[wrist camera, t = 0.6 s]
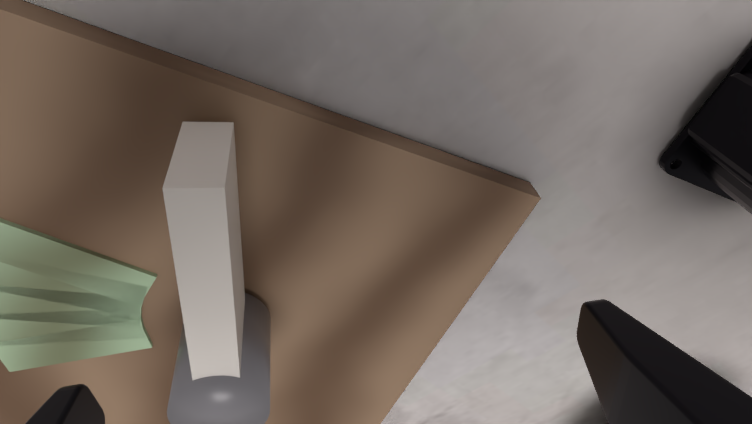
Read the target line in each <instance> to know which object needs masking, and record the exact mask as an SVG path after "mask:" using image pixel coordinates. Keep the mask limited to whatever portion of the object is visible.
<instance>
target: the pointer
mask: <svg viewBox="0 0 752 424" xmlns="http://www.w3.org/2000/svg"><path fill="white" fill-rule="evenodd" d="M162 189H163V195H164V202H165V208H166V215H167V221H168V227H169V234H170V240H171V246H172V253H173V259H174V266H175V272H176V278H177V285H178V291H179V297H180V304H181V310H182V317H183V325H182V331H181V336H180V342H179V347H178V353H177V358H176V364H175V369H174V375H173V380H172V386H171V391H170V397H169V402H168V407H167V417H168V420H169V422H170V424H265V422H266V421H267V419H268V417H269V414H270V353H271V317H270V313H269V311H268V309H267V307H266V306H265V305H264V304H263V303H262V302H261V301H260V300H259V299H257V298H256V297H254V296H252V295H250V294H247V293H245V290H244V275H243V259H242V244H241V229H240V213H239V198H238V183H237V167H236V152H235V136H234V122H182V125H181V129H180V132H179V135H178V138H177V142H176V145H175V148H174V152H173V155H172V158H171V161H170V165H169V168H168V171H167V175H166V178H165V181H164V184H163V188H162Z"/></svg>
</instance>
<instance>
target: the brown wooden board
mask: <svg viewBox="0 0 752 424" xmlns="http://www.w3.org/2000/svg"><path fill="white" fill-rule="evenodd" d="M182 122H234V136H235V152H236V167H237V183H238V198H239V213H240V229H241V244H242V259H243V275H244V290H245V293H247V294H250V295H252V296H254V297H256V298H257V299H259V300H260V301H261V302H262V303H263V304H264V305H265V306H266V307H267V309H268V311H269V313H270V317H271V353H270V414H269V417H268V419H267V421H266V422H265V424H380V423H381V422H382V421H383V419H384V418H385V416H386V415H387V414H388V412H389V411H390V409H391V408H392V407H393V405H394V404H395V402H396V401H397V400H398V398H399V397H400V395H401V394H402V393H403V391H404V390H405V388H406V387H407V386H408V384H409V383H410V381H411V380H412V379H413V377H414V376H415V374H416V373H417V372H418V370H419V369H420V367H421V366H422V364H423V363H424V362H425V360H426V359H427V357H428V356H429V355H430V353H431V352H432V350H433V349H434V348H435V346H436V345H437V343H438V342H439V341H440V339H441V338H442V336H443V335H444V334H445V332H446V331H447V329H448V328H449V327H450V325H451V324H452V322H453V321H454V320H455V318H456V317H457V315H458V314H459V313H460V311H461V310H462V308H463V307H464V306H465V304H466V303H467V301H468V300H469V298H470V297H471V296H472V294H473V293H474V291H475V290H476V289H477V287H478V286H479V284H480V283H481V282H482V280H483V279H484V277H485V276H486V275H487V273H488V272H489V270H490V269H491V268H492V266H493V265H494V263H495V262H496V261H497V259H498V258H499V256H500V255H501V254H502V252H503V251H504V249H505V248H506V247H507V245H508V244H509V242H510V241H511V240H512V238H513V237H514V235H515V234H516V232H517V231H518V230H519V228H520V227H521V225H522V224H523V223H524V221H525V220H526V218H527V217H528V216H529V214H530V213H531V211H532V210H533V209H534V207H535V206H536V204H537V203H538V202H539V200H540V199H541V198H540V196H539V195H538V193H537V192H536V190H535V189H534V188H533V186H532V185H531V183H530V182H527V181H524V180H521V179H518V178H516V177H513V176H510V175H507V174H505V173H502V172H499V171H496V170H493V169H491V168H488V167H485V166H482V165H479V164H477V163H474V162H471V161H468V160H466V159H463V158H460V157H457V156H454V155H452V154H449V153H446V152H443V151H440V150H438V149H435V148H432V147H429V146H427V145H424V144H421V143H418V142H415V141H413V140H410V139H407V138H404V137H401V136H399V135H396V134H393V133H390V132H388V131H385V130H382V129H379V128H376V127H374V126H371V125H368V124H365V123H362V122H360V121H357V120H354V119H351V118H349V117H346V116H343V115H340V114H337V113H335V112H332V111H329V110H326V109H323V108H321V107H318V106H315V105H312V104H310V103H307V102H304V101H301V100H298V99H296V98H293V97H290V96H287V95H284V94H282V93H279V92H276V91H273V90H270V89H268V88H265V87H262V86H259V85H257V84H254V83H251V82H248V81H245V80H243V79H240V78H237V77H234V76H231V75H229V74H226V73H223V72H220V71H218V70H215V69H212V68H209V67H206V66H204V65H201V64H198V63H195V62H192V61H190V60H187V59H184V58H181V57H179V56H176V55H173V54H170V53H167V52H165V51H162V50H159V49H156V48H153V47H151V46H148V45H145V44H142V43H140V42H137V41H134V40H131V39H128V38H126V37H123V36H120V35H117V34H114V33H112V32H109V31H106V30H103V29H101V28H98V27H95V26H92V25H89V24H87V23H84V22H81V21H78V20H75V19H73V18H70V17H67V16H64V15H62V14H59V13H56V12H53V11H50V10H48V9H45V8H42V7H39V6H36V5H34V4H31V3H28V2H25V1H23V0H0V424H25V423H26V422H27V421H28V420H29V419H30V418H31V417H32V416H33V415H34V414H35V412H36V411H37V410H38V409H39V408H40V407H41V406H42V405H43V404H44V403H45V402H46V401H47V400H48V399H49V398H50V397H51V396H52V394H53V393H54V392H55V391H57V390H58V389H59V388H61V387H64V386H70V385H76V384H84V385H86V386H88V388H89V389H90V390H91V392H92V394H93V395H94V397H95V398H96V400H97V401H98V403H99V404H100V406H101V407H102V409H103V411H104V414H105V424H170V422H169V420H168V417H167V407H168V402H169V397H170V391H171V386H172V380H173V375H174V369H175V364H176V358H177V353H178V347H179V342H180V336H181V331H182V325H183V317H182V310H181V304H180V297H179V291H178V285H177V278H176V272H175V266H174V259H173V253H172V246H171V240H170V234H169V227H168V221H167V215H166V208H165V202H164V195H163V189H162V188H163V184H164V181H165V178H166V175H167V171H168V168H169V165H170V161H171V158H172V155H173V152H174V148H175V145H176V142H177V138H178V135H179V132H180V129H181V125H182Z"/></svg>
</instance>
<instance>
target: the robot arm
mask: <svg viewBox="0 0 752 424" xmlns="http://www.w3.org/2000/svg"><path fill="white" fill-rule="evenodd" d="M674 160H675V162H673V161H674ZM672 162H673V163H672ZM671 163H672V164H671ZM659 165H660V167H661V168H662V169H663V170H664V171H665V172H666V173H668V174H670V175H672V176H675V177H677V178H679V179H682V180H684V181H687V182H689V183H692V184H694V185H696V186H699V187H701V188H704V189H706V190H709V191H711V192H713V193H716V194H718V195H721V196H723V197H726V198H728V199H730V200H733V201H735V202H738V203H739V204H740V205H741V206H742V207H744V208H745V209H746V210H747V211H748V212H750V213H751V214H752V46H751V47H750V48H749V49H748V50H747V52H746V53H745V54H744V55H743V57H742V58H741V59H740V60H739V62H738V63H737V64H736V65H735V67H734V68H733V69H732V70H731V72H730V73H729V74H728V75H727V76H726V78H725V79H724V80H723V81H722V83H721V84H720V85H719V86H718V88H717V89H716V90H715V91H714V93H713V94H712V95H711V96H710V98H709V99H708V100H707V101H706V102H705V104H704V105H703V106H702V107H701V109H700V110H699V111H698V112H697V114H696V115H695V116H694V117H693V119H692V120H691V121H690V122H689V124H688V125H687V126H686V127H685V128H684V130H683V131H682V132H681V133H680V135H679V136H678V137H677V138H676V140H675V141H674V142H673V143H672V145H671V146H670V147H669V148H668V150H667V151H666V152H665V153H664V154H663V156H662V157H661V159H660V162H659ZM577 340H578V344H579V347H580V350H581V352H582V355H583V358H584V360H585V363H586V366H587V368H588V371H589V374H590V376H591V379H592V382H593V384H594V387H595V390H596V392H597V395H598V398H599V400H600V403H601V406H602V408H603V411H604V413H605V416H606V418H607V421H608V423H609V424H752V397H750V396H749V395H747V394H746V393H744V392H743V391H742V390H740V389H739V388H737V387H736V386H734V385H733V384H731V383H730V382H728V381H727V380H725V379H724V378H722V377H721V376H719V375H718V374H716V373H715V372H713V371H712V370H710V369H709V368H707V367H706V366H704V365H703V364H701V363H700V362H698V361H697V360H695V359H694V358H692V357H691V356H690V355H688V354H687V353H685V352H684V351H682V350H681V349H679V348H678V347H676V346H675V345H673V344H672V343H670V342H669V341H667V340H666V339H664V338H663V337H661V336H660V335H658V334H657V333H655V332H654V331H652V330H651V329H649V328H648V327H646V326H645V325H643V324H642V323H641V322H639V321H638V320H636V319H635V318H633V317H632V316H630V315H629V314H627V313H626V312H624V311H623V310H621V309H620V308H618V307H617V306H615V305H614V304H612V303H611V302H609V301H607V300H604V299H601V300H595V301H589V302H585V303H583V305H582V306H581V311H580V316H579V322H578V328H577ZM25 424H105V414H104V411H103V409H102V407H101V406H100V404H99V403H98V401H97V400H96V398H95V397H94V395H93V394H92V392H91V390H90V389H89V388H88V386H86V385H84V384H76V385H70V386H64V387H61V388H59V389H58V390H57V391H55V392H54V393H53V394H52V396H51V397H50V398H49V399H48V400H47V401H46V402H45V403H44V404H43V405H42V406H41V407H40V408H39V409H38V410H37V411H36V412H35V414H34V415H33V416H32V417H31V418H30V419H29V420H28V421H27V422H26V423H25Z"/></svg>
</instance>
